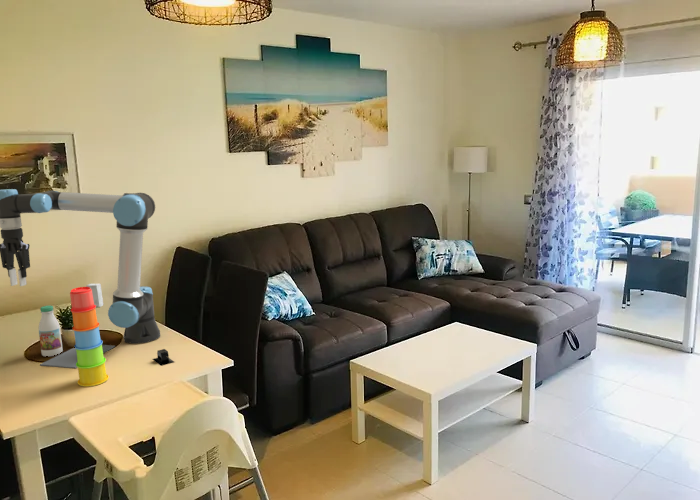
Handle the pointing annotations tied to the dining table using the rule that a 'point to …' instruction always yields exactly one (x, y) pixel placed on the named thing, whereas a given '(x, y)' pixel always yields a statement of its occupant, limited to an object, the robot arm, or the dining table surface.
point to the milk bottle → (49, 333)
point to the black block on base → (163, 358)
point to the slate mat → (69, 358)
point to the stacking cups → (87, 338)
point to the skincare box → (96, 294)
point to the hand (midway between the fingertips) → (18, 285)
